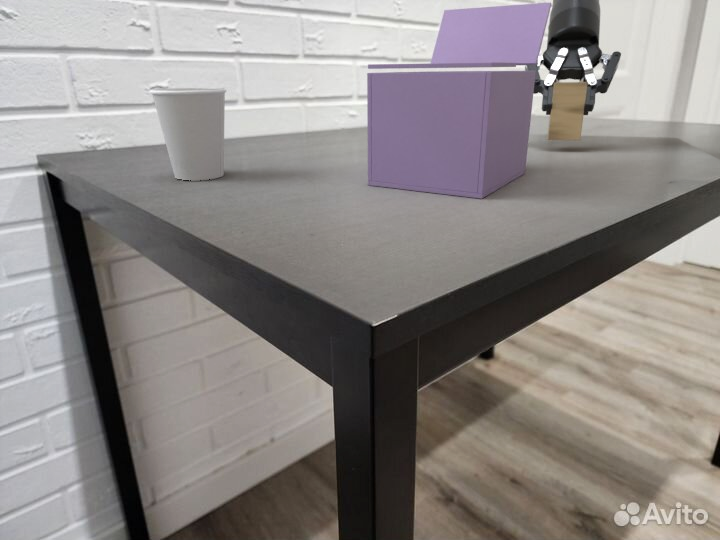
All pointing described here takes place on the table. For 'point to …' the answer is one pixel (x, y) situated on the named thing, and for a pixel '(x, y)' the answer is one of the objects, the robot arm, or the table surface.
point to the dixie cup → (193, 130)
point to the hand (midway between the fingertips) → (567, 110)
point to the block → (567, 110)
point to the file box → (448, 128)
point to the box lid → (492, 34)
